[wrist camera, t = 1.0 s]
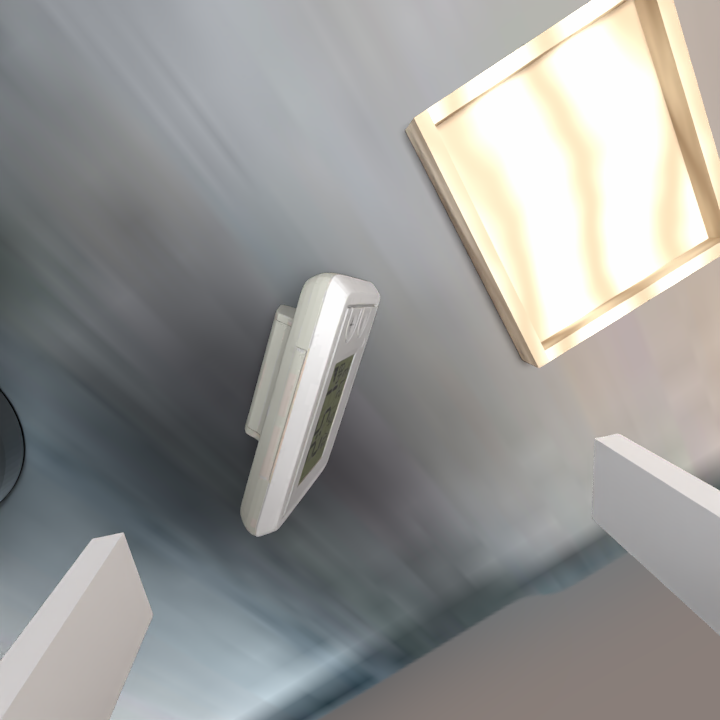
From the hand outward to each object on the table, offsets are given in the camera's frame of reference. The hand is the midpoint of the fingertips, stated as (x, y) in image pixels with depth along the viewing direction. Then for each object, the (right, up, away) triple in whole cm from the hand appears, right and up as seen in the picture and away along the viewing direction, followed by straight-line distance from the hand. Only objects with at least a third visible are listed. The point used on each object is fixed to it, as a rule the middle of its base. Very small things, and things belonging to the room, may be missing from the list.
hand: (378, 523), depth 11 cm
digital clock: (-4, +4, +20) cm, 21 cm away
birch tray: (+16, +17, +19) cm, 30 cm away
